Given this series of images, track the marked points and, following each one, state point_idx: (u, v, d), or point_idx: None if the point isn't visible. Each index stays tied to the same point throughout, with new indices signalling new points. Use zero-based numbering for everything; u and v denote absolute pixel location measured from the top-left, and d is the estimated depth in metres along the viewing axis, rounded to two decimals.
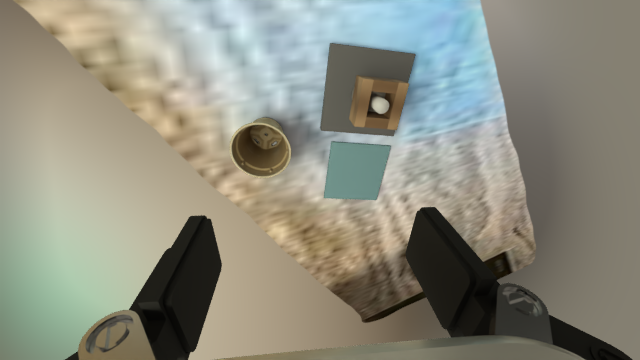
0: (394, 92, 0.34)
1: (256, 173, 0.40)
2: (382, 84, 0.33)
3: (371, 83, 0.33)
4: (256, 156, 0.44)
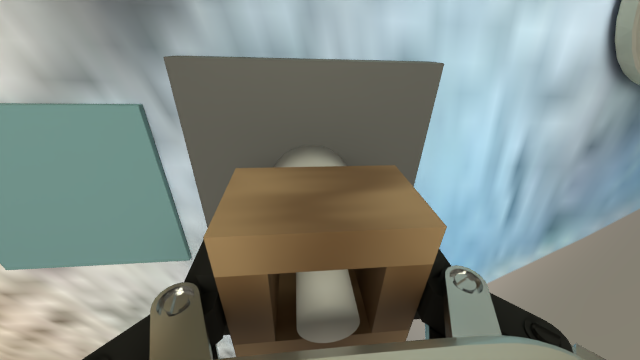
0: (376, 328, 0.09)
1: None
2: (409, 293, 0.08)
3: (419, 259, 0.07)
4: None
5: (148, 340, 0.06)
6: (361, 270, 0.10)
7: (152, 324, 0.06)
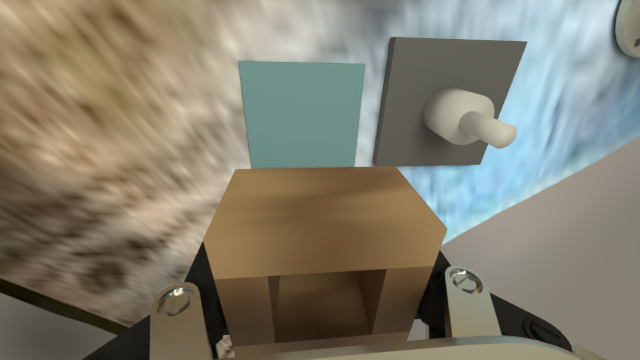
0: (376, 330, 0.09)
1: None
2: (409, 295, 0.08)
3: (419, 261, 0.07)
4: None
5: (148, 340, 0.06)
6: (361, 271, 0.10)
7: (152, 324, 0.06)
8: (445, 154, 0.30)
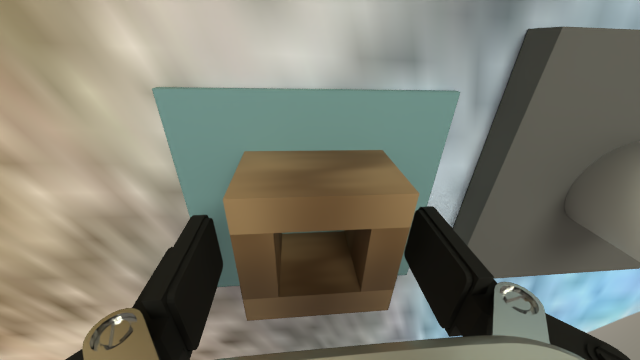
0: (365, 287, 0.11)
1: None
2: (391, 254, 0.10)
3: (398, 223, 0.09)
4: None
5: None
6: (353, 241, 0.12)
7: None
8: (586, 256, 0.16)
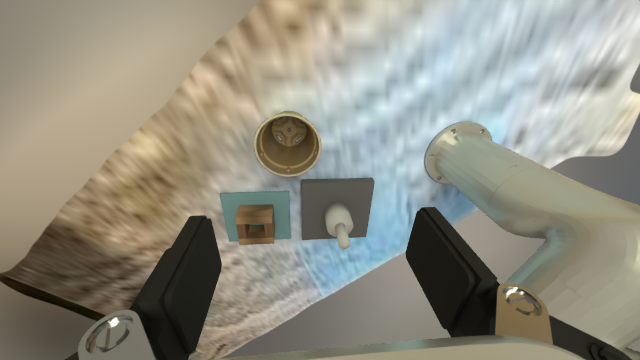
0: (266, 236, 0.47)
1: (257, 139, 0.34)
2: (270, 228, 0.46)
3: (269, 222, 0.45)
4: (268, 126, 0.37)
5: None
6: None
7: None
8: None
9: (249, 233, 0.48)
